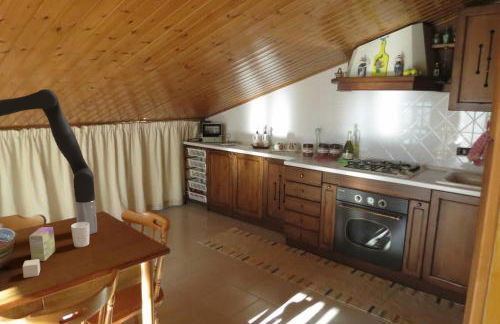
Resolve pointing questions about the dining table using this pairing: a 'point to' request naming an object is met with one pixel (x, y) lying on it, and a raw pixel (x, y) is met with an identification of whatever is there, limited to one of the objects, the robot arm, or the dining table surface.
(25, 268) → the cube
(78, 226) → the white cup
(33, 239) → the box
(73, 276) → the dining table surface
